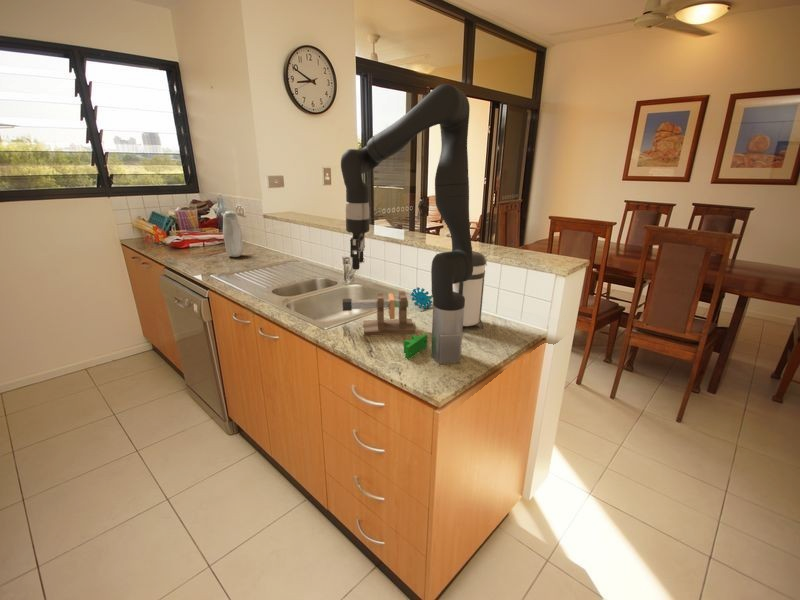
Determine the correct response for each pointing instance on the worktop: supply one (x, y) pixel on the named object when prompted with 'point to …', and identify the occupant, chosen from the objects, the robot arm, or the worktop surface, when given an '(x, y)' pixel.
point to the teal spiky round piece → (421, 298)
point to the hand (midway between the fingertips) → (358, 265)
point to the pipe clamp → (414, 345)
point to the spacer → (391, 306)
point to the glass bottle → (232, 234)
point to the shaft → (366, 304)
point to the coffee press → (473, 291)
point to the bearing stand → (389, 326)
